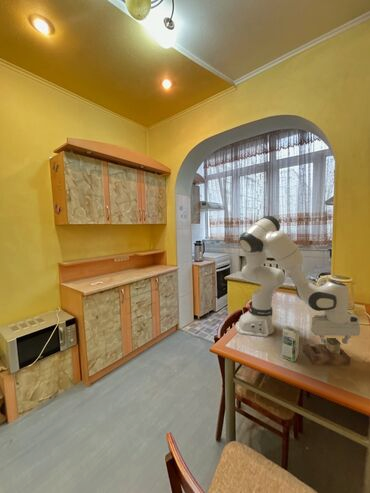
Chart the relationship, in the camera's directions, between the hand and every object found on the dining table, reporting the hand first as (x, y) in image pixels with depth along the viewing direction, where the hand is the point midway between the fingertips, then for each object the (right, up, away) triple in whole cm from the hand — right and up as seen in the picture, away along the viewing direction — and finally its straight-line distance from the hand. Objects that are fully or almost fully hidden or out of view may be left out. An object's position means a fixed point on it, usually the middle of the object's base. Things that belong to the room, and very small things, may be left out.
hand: (334, 342), depth 104 cm
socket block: (-4, -8, +1) cm, 8 cm away
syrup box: (-20, -8, +2) cm, 21 cm away
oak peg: (0, -8, +1) cm, 8 cm away
